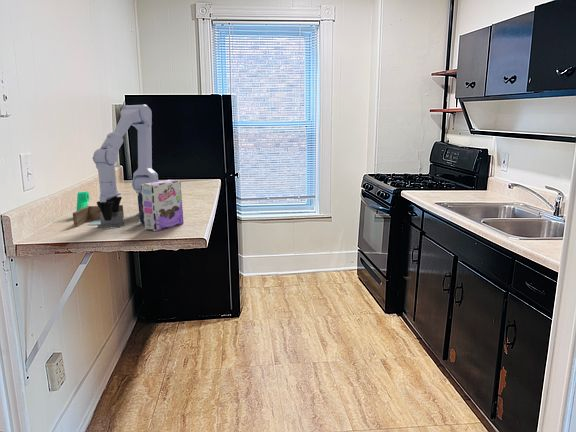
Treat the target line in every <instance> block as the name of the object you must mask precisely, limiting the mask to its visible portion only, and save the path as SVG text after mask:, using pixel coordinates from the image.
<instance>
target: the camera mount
mask: <svg viewBox="0 0 576 432" xmlns="http://www.w3.org/2000/svg"><path fill="white" fill-rule="evenodd" d="M76 198H77V199H76V210H75V212H76V211H78V210H80V209H82V208H84V207H86V206H89V204H88V203H89V202H90V194H89V192H88V191H78V193H77V197H76Z"/></svg>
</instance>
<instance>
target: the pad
mask: <svg viewBox="0 0 576 432" xmlns="http://www.w3.org/2000/svg"><path fill="white" fill-rule="evenodd" d="M100 224H101V223H100V219H94V220H93V221H91V222H89V223H88V224H87V226H99V225H100Z"/></svg>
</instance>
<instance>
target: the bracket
mask: <svg viewBox="0 0 576 432" xmlns="http://www.w3.org/2000/svg"><path fill="white" fill-rule="evenodd" d="M123 212H124V211H123ZM123 212H112V219H111V220H110V221H105V219H104V217H103V214H102V212H100V213H99V214H100V219H99V220H100V223H101V224H100V225H96V226H97V229H109V228H110V229H112V228H111V227H117V228H121V227H122V226H124V223H125V221H124V218H123Z"/></svg>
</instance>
